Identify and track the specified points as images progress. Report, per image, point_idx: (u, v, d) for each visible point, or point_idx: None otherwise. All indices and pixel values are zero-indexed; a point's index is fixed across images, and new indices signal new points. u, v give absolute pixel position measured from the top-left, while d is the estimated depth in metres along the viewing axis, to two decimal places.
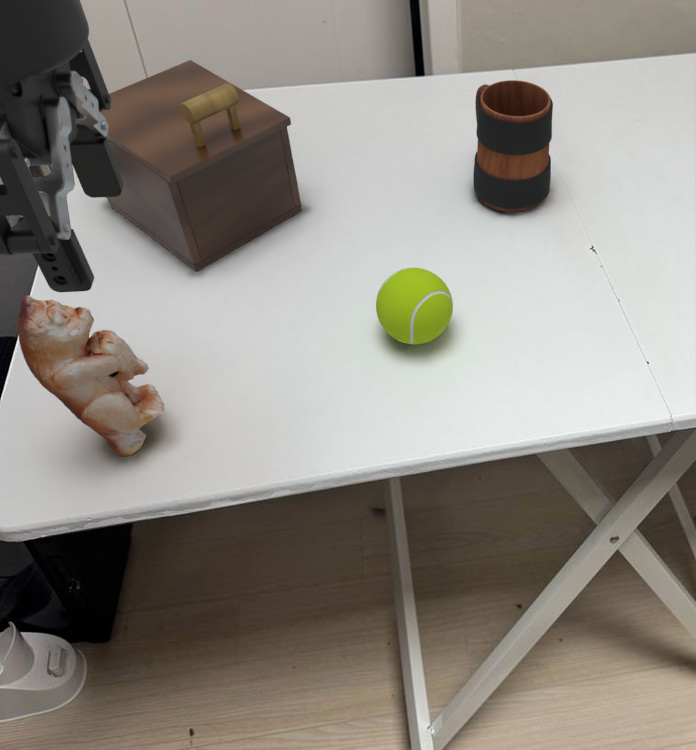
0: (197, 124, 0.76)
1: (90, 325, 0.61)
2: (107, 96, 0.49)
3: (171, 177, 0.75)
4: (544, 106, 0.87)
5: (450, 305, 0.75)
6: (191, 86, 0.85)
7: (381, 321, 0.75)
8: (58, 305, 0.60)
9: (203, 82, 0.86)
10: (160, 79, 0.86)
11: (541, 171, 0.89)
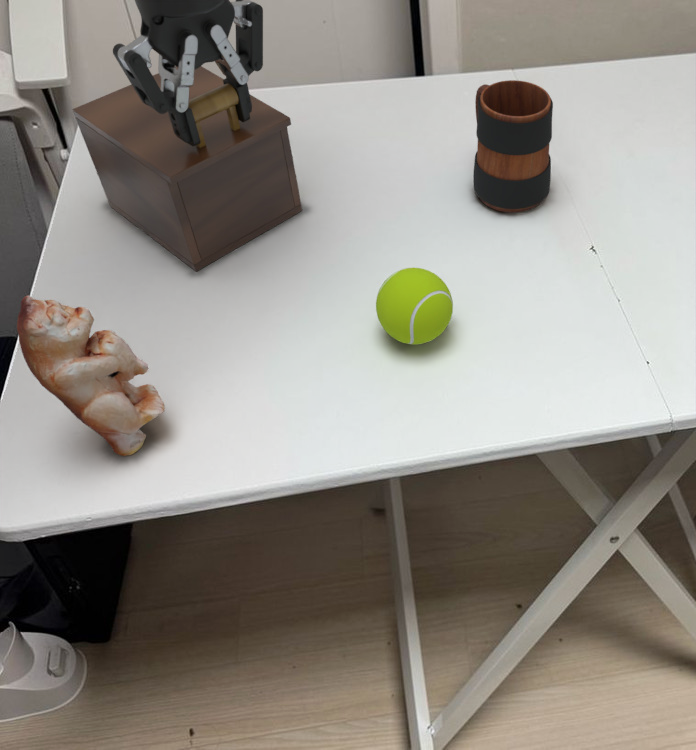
0: (197, 124, 0.76)
1: (90, 325, 0.61)
2: (257, 62, 0.77)
3: (171, 177, 0.75)
4: (544, 106, 0.87)
5: (450, 305, 0.75)
6: (191, 86, 0.85)
7: (381, 321, 0.75)
8: (58, 305, 0.60)
9: (203, 82, 0.86)
10: (160, 79, 0.86)
11: (541, 171, 0.89)
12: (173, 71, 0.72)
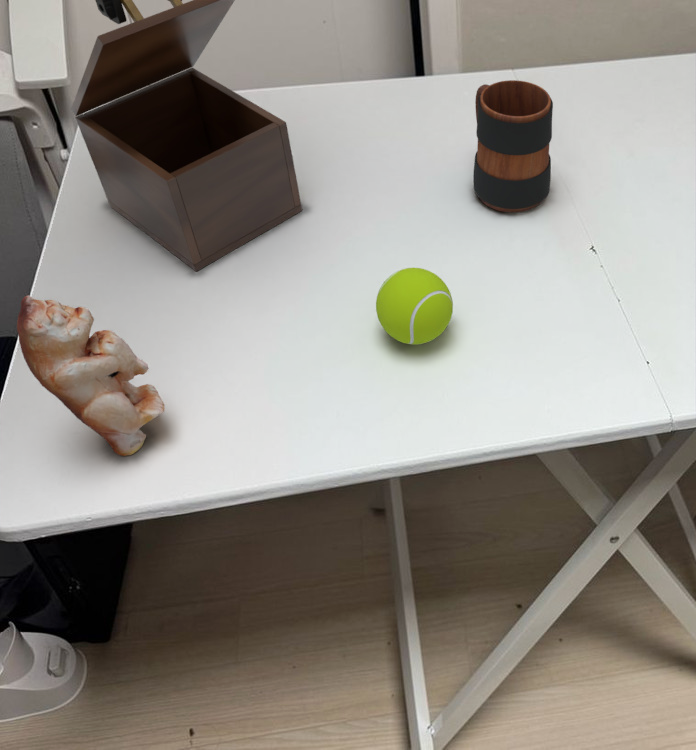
0: (129, 0, 0.72)
1: (90, 325, 0.61)
2: None
3: (99, 36, 0.68)
4: (544, 106, 0.87)
5: (450, 305, 0.75)
6: None
7: (381, 321, 0.75)
8: (58, 305, 0.60)
9: None
10: None
11: (541, 171, 0.89)
12: None
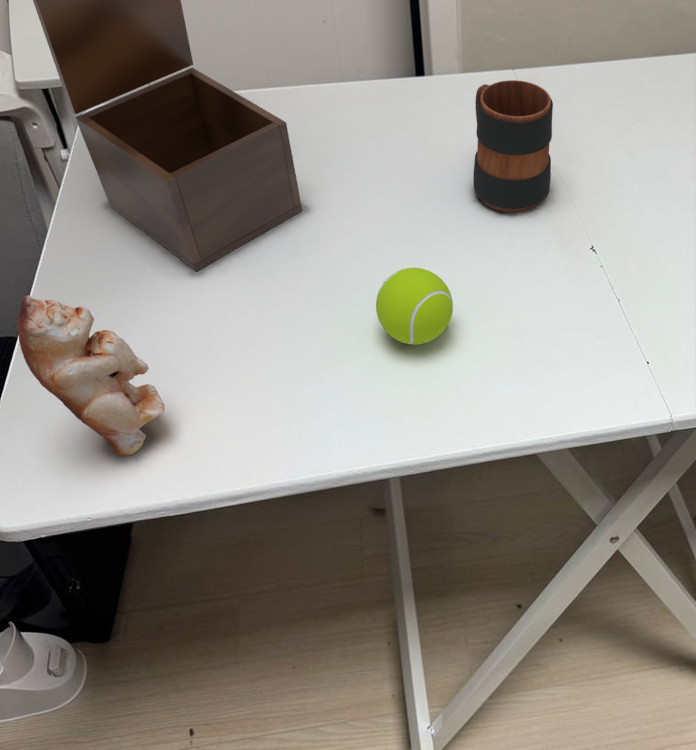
0: None
1: (90, 325, 0.61)
2: None
3: None
4: (544, 106, 0.87)
5: (450, 305, 0.75)
6: None
7: (381, 321, 0.75)
8: (58, 305, 0.60)
9: None
10: None
11: (541, 171, 0.89)
12: None
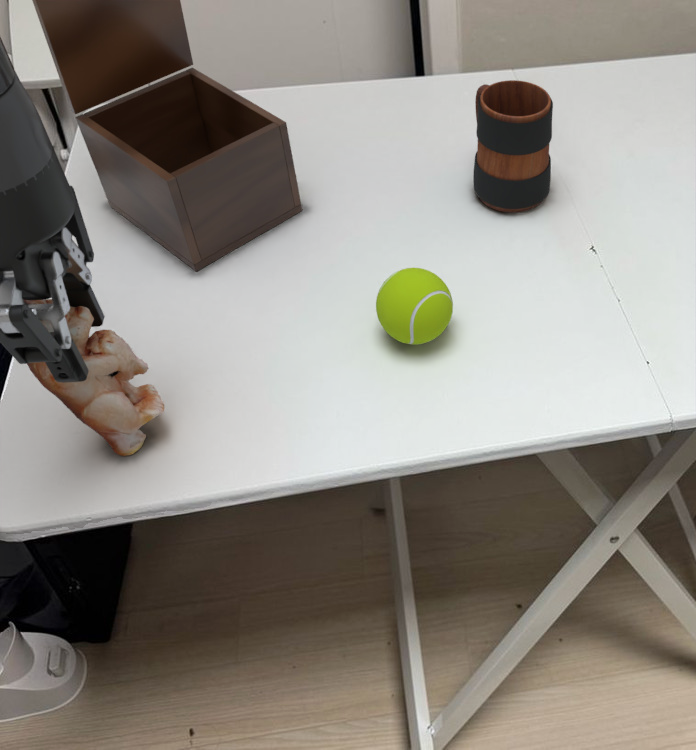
0: None
1: (90, 324, 0.61)
2: (91, 251, 0.62)
3: None
4: (544, 106, 0.87)
5: (450, 305, 0.75)
6: None
7: (381, 321, 0.75)
8: None
9: None
10: None
11: (541, 171, 0.89)
12: (36, 308, 0.56)
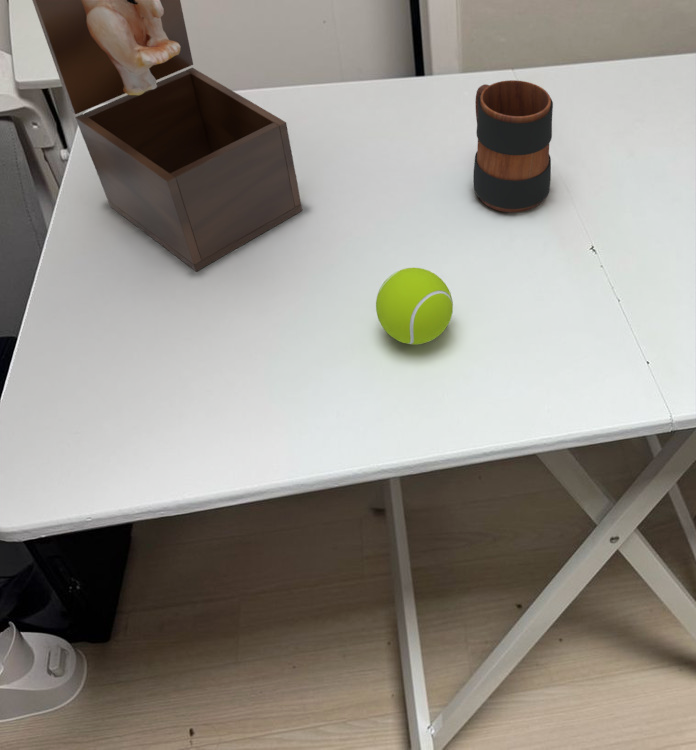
0: None
1: None
2: None
3: None
4: (544, 106, 0.87)
5: (450, 305, 0.75)
6: None
7: (381, 321, 0.75)
8: None
9: None
10: None
11: (541, 171, 0.89)
12: None
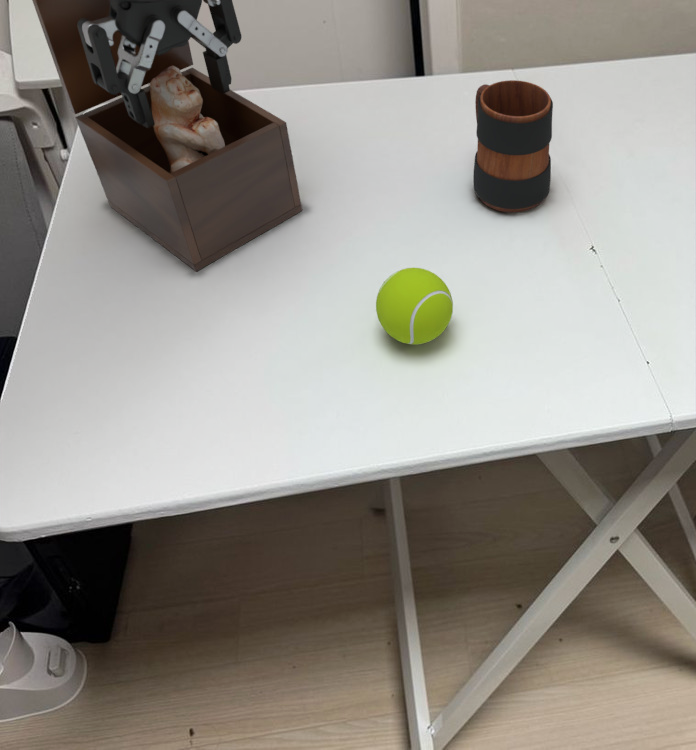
0: None
1: (194, 106, 0.80)
2: (235, 35, 0.79)
3: None
4: (544, 106, 0.87)
5: (450, 305, 0.75)
6: None
7: (381, 321, 0.75)
8: (181, 80, 0.79)
9: None
10: None
11: (541, 171, 0.89)
12: (133, 54, 0.74)
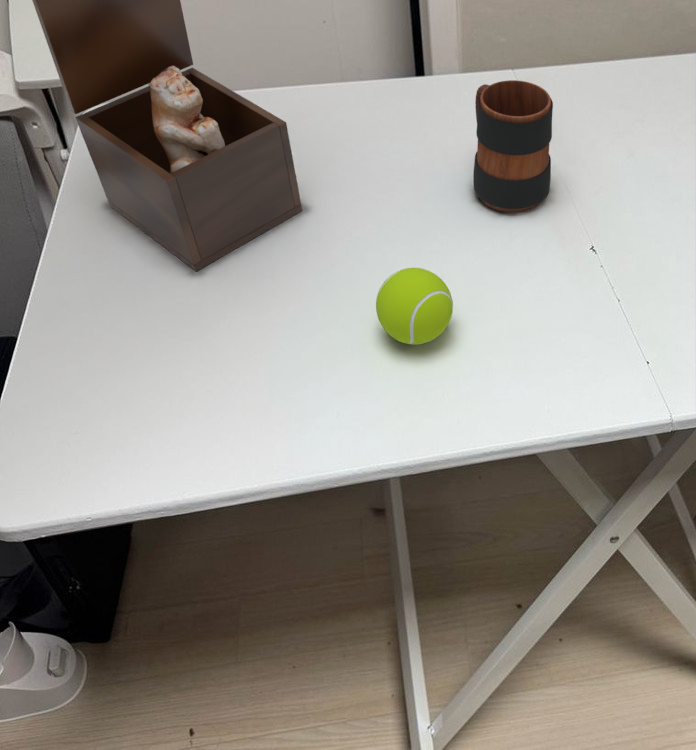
0: None
1: (194, 106, 0.80)
2: None
3: None
4: (544, 106, 0.87)
5: (450, 305, 0.75)
6: None
7: (381, 321, 0.75)
8: (181, 80, 0.79)
9: None
10: None
11: (541, 171, 0.89)
12: None
